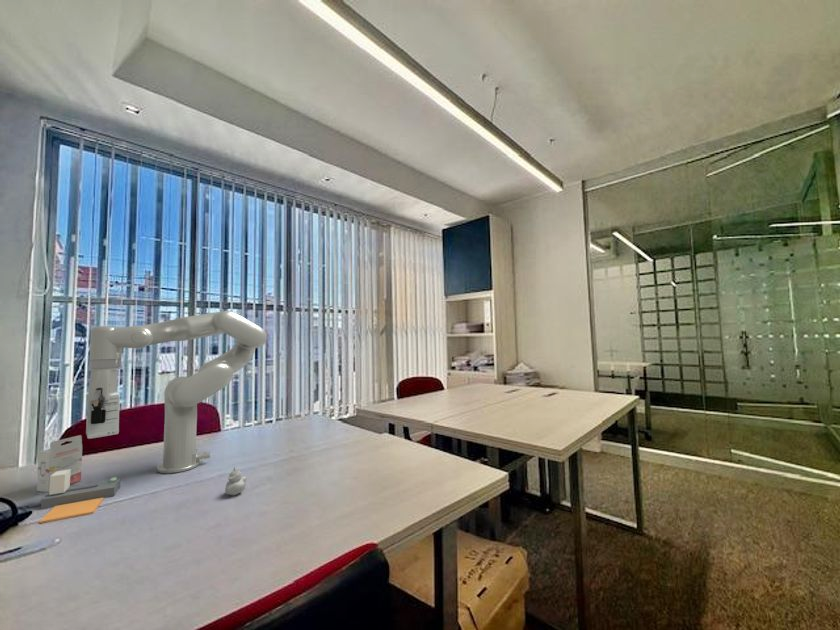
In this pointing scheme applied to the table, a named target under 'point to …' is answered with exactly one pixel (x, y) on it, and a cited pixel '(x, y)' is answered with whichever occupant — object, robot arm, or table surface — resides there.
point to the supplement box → (110, 420)
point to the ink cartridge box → (60, 461)
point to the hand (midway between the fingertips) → (103, 419)
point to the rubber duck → (235, 483)
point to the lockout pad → (72, 510)
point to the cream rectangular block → (59, 482)
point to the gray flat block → (82, 493)
